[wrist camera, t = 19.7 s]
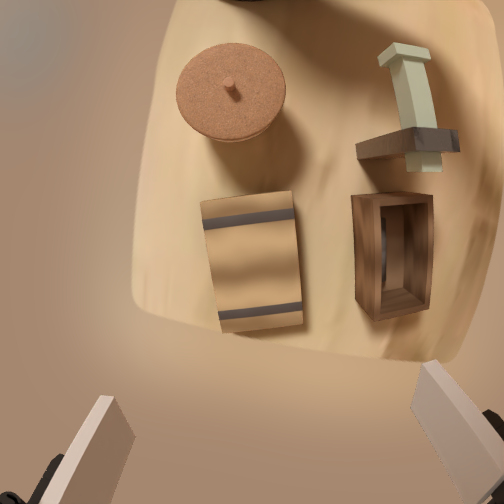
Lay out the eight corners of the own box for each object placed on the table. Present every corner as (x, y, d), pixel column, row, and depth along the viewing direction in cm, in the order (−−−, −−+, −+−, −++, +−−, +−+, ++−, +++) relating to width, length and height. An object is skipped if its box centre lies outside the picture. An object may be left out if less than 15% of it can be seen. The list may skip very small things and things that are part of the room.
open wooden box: (350, 195, 35) (372, 199, 28) (404, 191, 34) (432, 195, 28) (355, 298, 38) (373, 321, 31) (404, 289, 38) (428, 308, 31)
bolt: (377, 56, 22) (393, 42, 18) (409, 61, 22) (428, 48, 18) (397, 172, 25) (418, 171, 21) (429, 171, 25) (451, 171, 21)
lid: (204, 200, 35) (199, 202, 31) (287, 189, 35) (291, 190, 31) (224, 320, 39) (222, 333, 35) (299, 311, 38) (303, 324, 35)
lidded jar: (256, 162, 34) (258, 155, 25) (176, 130, 33) (152, 114, 24) (292, 88, 31) (305, 59, 22) (214, 58, 30) (203, 23, 21)
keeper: (355, 144, 33) (412, 126, 19) (390, 143, 33) (457, 130, 19) (357, 159, 34) (416, 150, 20) (392, 158, 33) (460, 152, 19)
